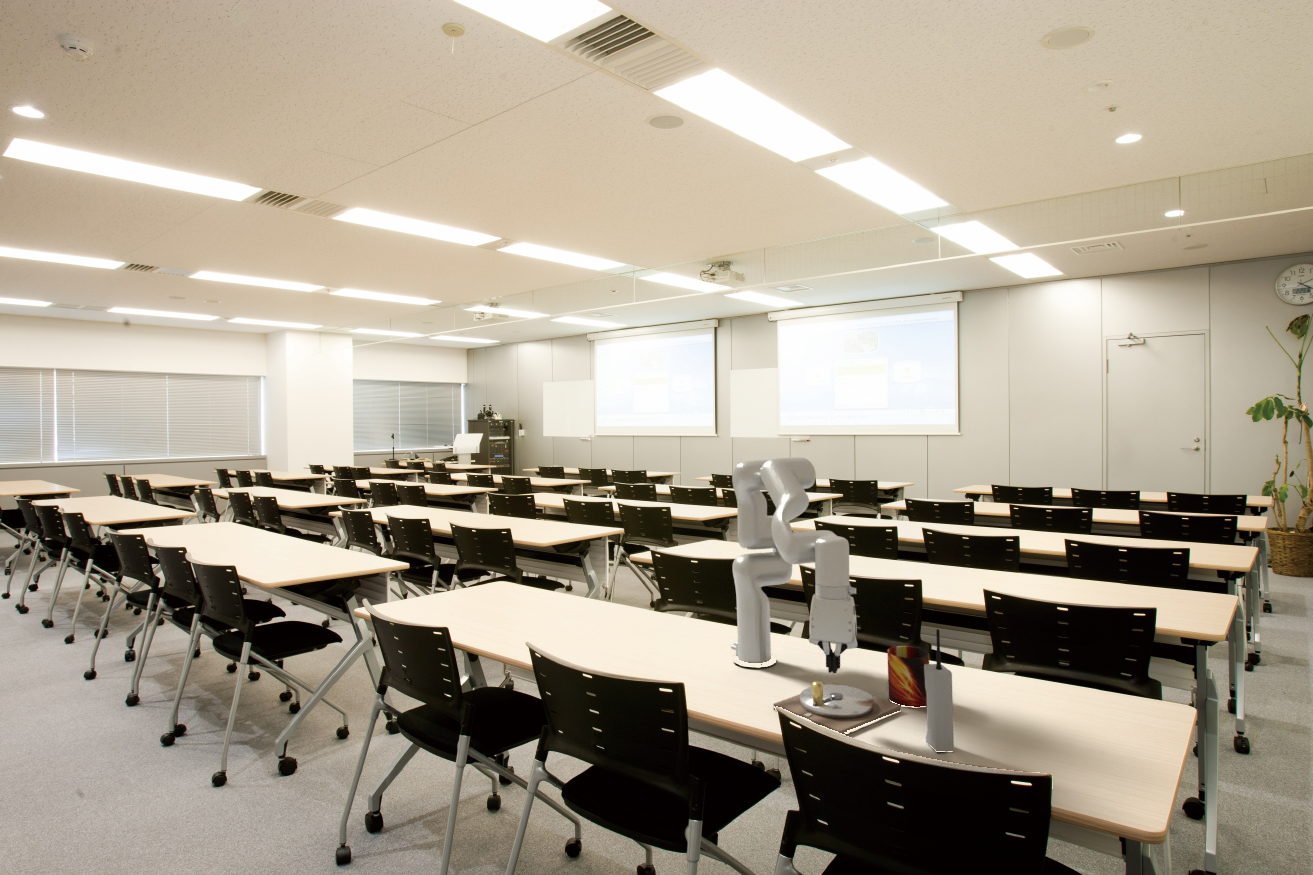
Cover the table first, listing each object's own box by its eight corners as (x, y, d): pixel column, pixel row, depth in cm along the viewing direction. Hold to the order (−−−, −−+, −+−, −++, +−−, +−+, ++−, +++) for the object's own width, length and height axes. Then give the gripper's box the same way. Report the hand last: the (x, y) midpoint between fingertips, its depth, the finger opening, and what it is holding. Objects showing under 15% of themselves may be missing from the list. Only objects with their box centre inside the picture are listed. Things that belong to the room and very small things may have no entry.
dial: (831, 685, 175) (830, 659, 175) (888, 705, 161) (888, 677, 161) (785, 701, 165) (784, 675, 165) (842, 724, 151) (841, 695, 151)
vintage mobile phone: (943, 742, 145) (940, 624, 145) (954, 752, 140) (950, 631, 140) (925, 742, 145) (922, 625, 145) (936, 753, 140) (933, 631, 140)
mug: (938, 716, 158) (936, 664, 158) (881, 701, 168) (880, 652, 168) (954, 704, 165) (952, 654, 165) (899, 690, 175) (897, 643, 175)
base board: (773, 709, 165) (773, 702, 165) (833, 687, 178) (833, 681, 178) (840, 737, 148) (840, 730, 148) (900, 711, 161) (900, 704, 161)
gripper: (868, 589, 155) (869, 669, 156) (802, 584, 162) (803, 661, 162) (864, 598, 149) (865, 681, 149) (795, 592, 155) (796, 672, 155)
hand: (833, 670), depth 156 cm, fingers closed
